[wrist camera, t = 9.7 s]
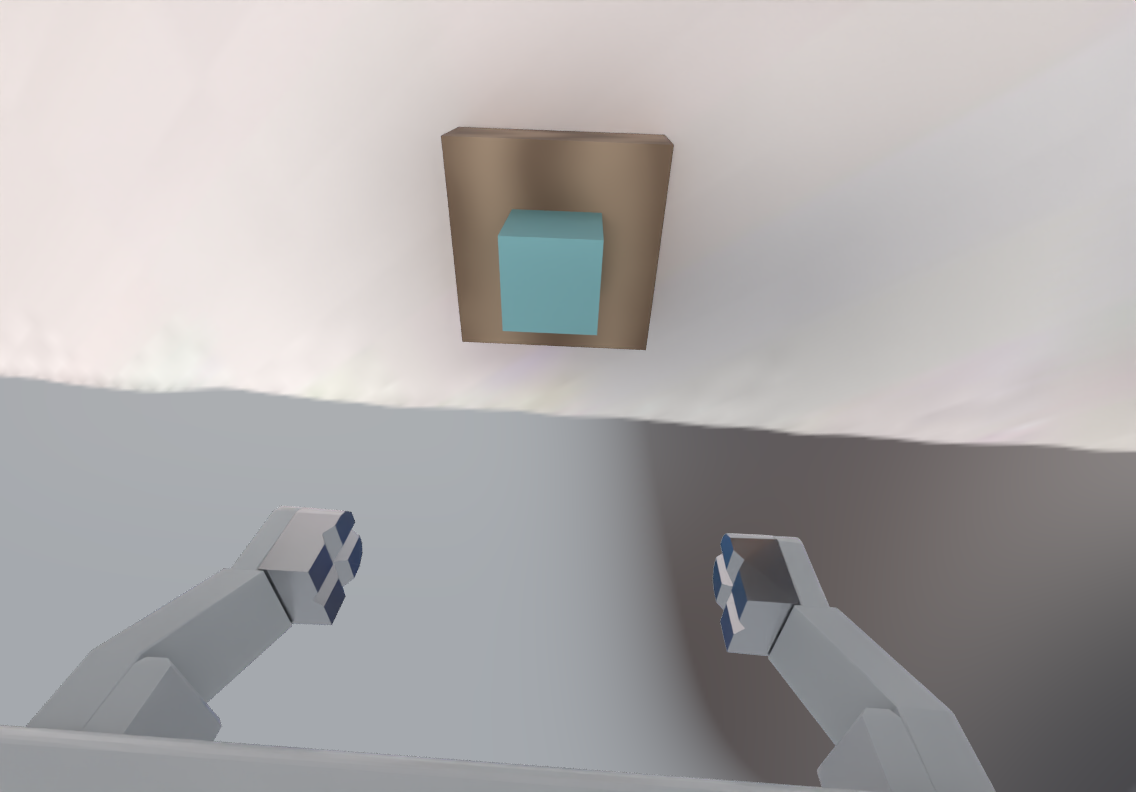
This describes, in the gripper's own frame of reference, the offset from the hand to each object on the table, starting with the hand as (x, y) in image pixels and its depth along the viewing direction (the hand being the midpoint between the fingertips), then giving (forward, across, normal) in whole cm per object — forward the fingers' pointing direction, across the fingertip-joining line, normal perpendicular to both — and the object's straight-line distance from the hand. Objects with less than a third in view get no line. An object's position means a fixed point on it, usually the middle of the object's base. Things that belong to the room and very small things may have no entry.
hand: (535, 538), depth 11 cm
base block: (+25, +1, +1) cm, 25 cm away
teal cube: (+21, +1, +1) cm, 21 cm away
